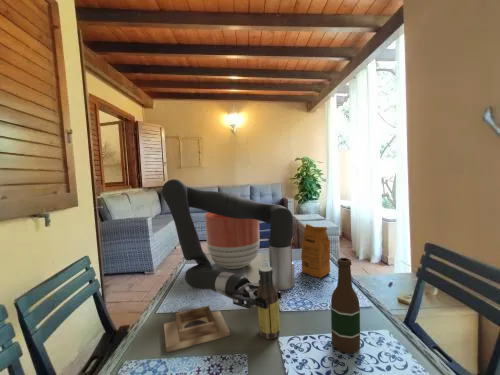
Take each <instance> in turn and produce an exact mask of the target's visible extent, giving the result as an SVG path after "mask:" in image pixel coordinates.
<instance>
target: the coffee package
mask: <svg viewBox="0 0 500 375" xmlns="http://www.w3.org/2000/svg"><path fill="white" fill-rule="evenodd" d="M327 230H328V228H327V227H326V226H314V225H311V224H308V223H306V224H305V228H304V231H303V236H302V241H301V254H300V255H301V256H300V257H301V258H300V259H301V273H304V274H308V275H309V276H310V277H314V278H318V279H319V278H323V277H325V276H326V275H328V274H330V272H331V263H330V262H331V261H330V260H331V241H330V239H329V236H328V233H327Z"/></svg>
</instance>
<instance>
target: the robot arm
mask: <svg viewBox="0 0 500 375" xmlns="http://www.w3.org/2000/svg"><path fill="white" fill-rule="evenodd" d="M161 197H162V199H163V200H164V201H165V203H166V205H167V207H168V209H169V211H170V213H171V216H172V218H173V221H174V226H175V230H176V233H177V237H178V242H179V246H180V250H181V252H182V255H183V258H184V260H185V261H195V262H196V264H195V265H194V266H192V267H190V268H188V269H187V270H186V271H185V274H184V280H185V282H186V284H187V285H188V286H189V287H191V288H192V289H197V290H211V291H213V292H215V293H218V294H220V295H221V296H224V297H226V298H229V299H231V300H232V305H235V306H238V307H242V308H245V309H251V307H257V308H258V307H261V308H264V309H267V308H268V301H267V300H264V299H261V298H258V297H257V290H258V288H259V286H260V279H258V283H255V282H251V281H250V280H249V279H248V277H246V276H244V275H239V274H238V273H237V274H236V273H234V272H230V271H224V270H221V269H216V268H215V269H214V268H213V265H212V263H211V262H210V260H209V259H208V257H207V255H206V254H205V252H204V251H203V248H202V244H201V241H200V238H199V235H198V232H197V229H196V227H195V224H194V222H193V218H192V214H191V211H190V208H192V209H197V210H202V211H204V212H207V213H208V212H210V213H213V214H217V215H220V216H225V217H229V218H236V219H255V220H259V222H263V223H266V224H268V225H270V227H269V228H270V229H269V230H270V232H269V233H270V235H269V238H268V254H269V256H268V257H269V259H268V260H269V267H271V268H272V270H273V274H272V279H273V285H274V286H275V287H276V289H277V295H278V300H281V299H282V297H283V296H282V295H283V294H282V291H284V290H289V289H292V287H295V286H296V284H295V283H296V282H295V279H296V278H295V263H294V262H293V257H292V256H293V253H292V252H293V251H292V250H293V249H292V248H293V247H292V245H293V244H292V242H293V236H294V218H293V213H292V212H291V210H290V209H289V208H287V207H285V206H283V205H280V204H274V203H273V204H272V203H267V202H266V203H265V202H260V201H254V200H252V199H250V198H246V197H244V196H240V195H237V194H234V193H233V194H232V193H229V192H223V191H213V190H212V191H211V190H200V189H196V188H193V187H191V186H187V185H186V184H185V183H184V182H183V181H181V180H179V179H174V178H172V179H169V180H168V181H166V182H165V183H164V184H163V185H162V188H161ZM245 302H246V303H245Z"/></svg>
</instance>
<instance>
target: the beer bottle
mask: <svg viewBox="0 0 500 375" xmlns="http://www.w3.org/2000/svg"><path fill="white" fill-rule="evenodd" d="M336 264H337V265H338V268H337V285H336V287H335V289H334V290H333V292H332V294H331V300H330V301H331V302H330V306H331V307H330V315H331V316H330V320H331V321H330V323H331V345H332V347H334V348H335V349H336V350H337V351H338V352H340V353H344V354H345V353H346V354H350V355H352V354H355V353H357V352H358V351H360V350H361V308H360V302H359V297H358V294H357V292H356V291H355V290H354V288H353V282H352V271H351V270H352V269H351V266H352V264H353V263H352V259H351V258H347V257H340V258H338V259H337V263H336Z"/></svg>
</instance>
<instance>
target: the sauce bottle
mask: <svg viewBox="0 0 500 375" xmlns="http://www.w3.org/2000/svg"><path fill="white" fill-rule="evenodd" d="M272 274H273V270H272V268H271V267H270V266H261V267H259V268H258V275H259V280H260V286H259V288H258V290H257V297H258V298H261V299H264V300H267V301H268V308H267V309H264V308H261V307H258V306H257V318H258V329H259V335H260V336H261V337H262V338H263V339H264V340H274V339H275V338H277V337H279V335H280V332H281V331H280V328H281V324H280V323H281V322H280V310H279V308H280V307H279V299H278V295H277V289H276V287H275V286H274V285H273V279H272ZM257 297H256V298H257Z"/></svg>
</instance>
